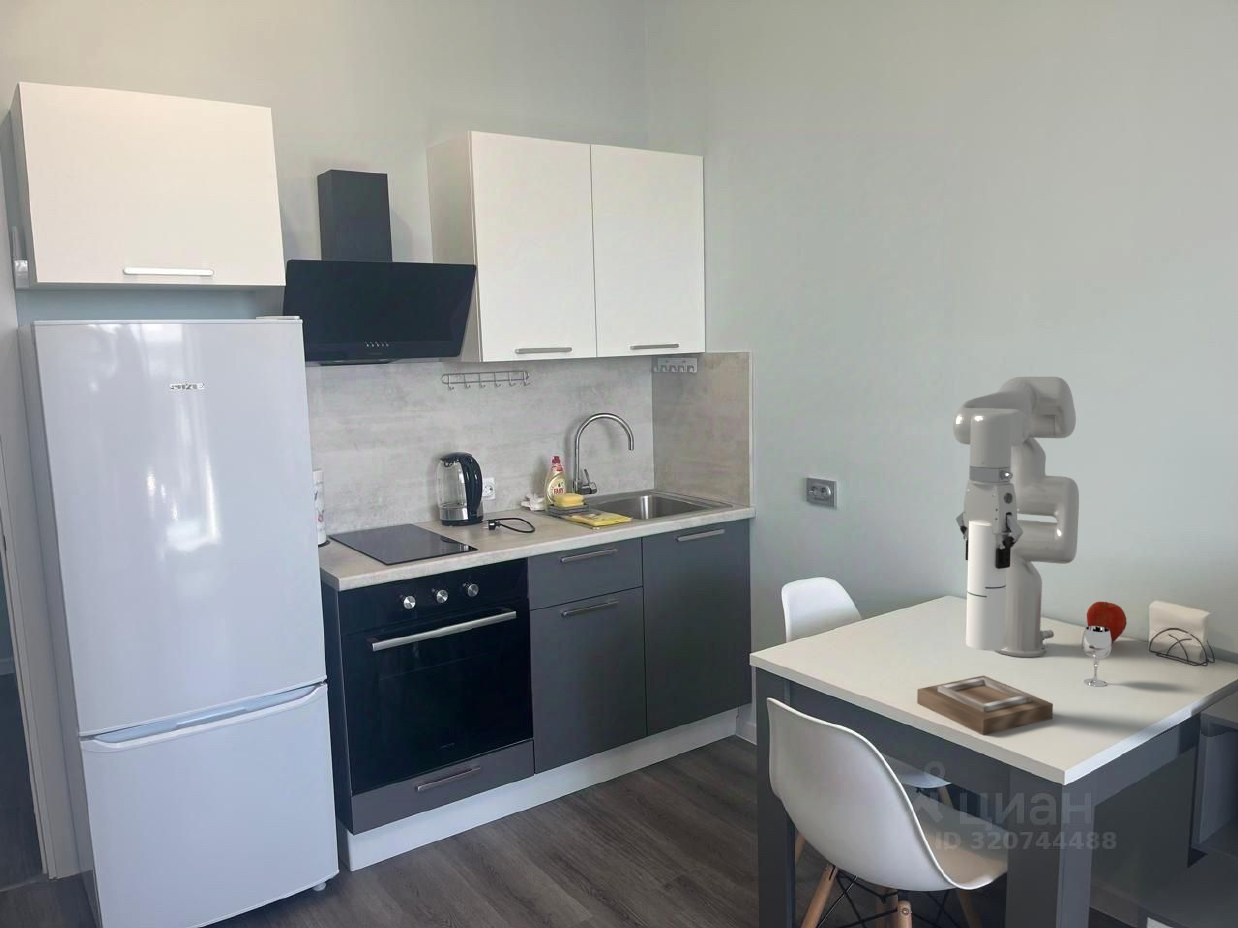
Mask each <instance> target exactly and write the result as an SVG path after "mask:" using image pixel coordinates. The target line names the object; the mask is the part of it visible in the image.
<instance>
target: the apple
mask: <svg viewBox="0 0 1238 928" xmlns="http://www.w3.org/2000/svg"><path fill="white" fill-rule="evenodd" d="M1086 623H1087V627H1088V626H1099V627H1104V628H1107V629H1109V630H1110V635H1111V640H1112V644H1114V643H1115V641H1116V640H1117V639H1119V637H1120V636H1121V635H1122V634H1123V632H1124V631H1125V629H1126V628H1127V627H1126V626H1127V624H1128V623H1127V617H1126V613H1125V610H1123V609H1122V607H1121V606H1120V605H1118V604H1115V603H1113V602H1108V601H1096V602H1094V603H1093V604H1091V605H1090V606H1089V608H1088V610H1087V612H1086Z"/></svg>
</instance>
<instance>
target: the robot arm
mask: <svg viewBox="0 0 1238 928" xmlns="http://www.w3.org/2000/svg"><path fill="white" fill-rule="evenodd" d="M1072 394H1073V393H1072V391H1071V388H1070V386H1069V384H1068V383H1067V381H1066V380H1064V378H1061V377H1059V376H1017V377H1013V378H1012V377H1011V378H1010V379H1007V380H1006V381H1005V382H1004V383H1003V384H1002V385H1001V387H1000V388H999V389H998V390H997V392H994V393H993V392H992V393H989V394H987V395H982V396H978V397H974V398H972V399H969V400H967V401H965V402H964V403H963V404H961V406H960V408H958V410H957V411H956V414H955V415H954V418H953V424H952V431H953V436H954V438H955V439H956V441H958V442H959V443H960V444H962V445H967V446H968V445H969V473H968V474H969V478H968V480H967V484H966V488H965V494H964V501H963V511H962V512H961V514H959V515H958V516H956V519H955V521H956V523H957V524H958V526H959V530H960V532H961V534H962V535H963V537H962V538H963V540H964V541H965V560H966V561H968V543H969V521H972V522H976V523H981V524H985V525H990V526H991V528H992V533H993V534H994V535H996V541H997V543H998V546H999V548H996V568H997V569H1002V568H1007V571H1006V603H1005V636H1004V648H1003V649H1001V650H995V652H997V653H1000V654H1003V655H1005V656H1006V655H1007V656H1012V657H1019V658H1020V657H1021V658H1024V657H1025V658H1035V657H1041V656H1043V655H1045V654H1046V653H1047V651H1048V647H1047V645H1046V644H1044V643H1043V642H1044V640H1046V639H1052V638H1054V636H1055V633H1054V631H1053V630H1052V629H1048V630H1042V629H1041V621H1042V620H1041V618H1042V595H1043V594H1042V592H1043V580H1042V576H1041V574H1040V573H1039V570H1038V569H1037V568H1036V566H1035V565H1034V564H1033V563H1032V562H1034V563H1036V562H1038V563H1039V562H1040V563H1048V564H1057V565H1058V564H1059V565H1060V564H1061V565H1062V564H1063V565H1064V564H1065V565H1066V564H1070V563H1071V562H1073V561H1074V560H1075V558H1076V555H1077V552H1078V551H1077V550H1078V538H1079V537H1078V534H1079V515H1080V511H1079V510H1080V490H1079V487H1078V485H1077V483H1076V481H1075V480H1074V479H1073V478H1071V477H1068V476H1062V475H1057V476H1056V475H1047V474H1046V462H1047V461H1046V459H1047V456H1046V452H1045V450H1044V449H1043V447H1042V446H1041V444H1040V443H1039V442H1038V441H1037V440H1036V439H1066V438H1069V437H1070V436H1071V435H1072V434H1073V433H1074V431H1075V428H1076V423H1077V422H1076V421H1077V416H1076V415H1077V414H1076V410H1075V404H1074V399H1073V395H1072ZM1018 514H1019V515H1030V516H1042V517H1052V518H1054V519H1055V520H1056V522H1053V521H1051V522H1050V521H1039V520H1027V519H1018ZM1005 524H1007V525H1006V532H1002V529H1003V528H1004V526H1005ZM1007 526H1008V527H1007ZM1002 536H1005V540H1004V541H1003V538H1002Z"/></svg>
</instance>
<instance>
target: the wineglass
mask: <svg viewBox="0 0 1238 928" xmlns="http://www.w3.org/2000/svg"><path fill="white" fill-rule="evenodd" d="M1081 646H1082V651H1083V652H1084V654H1085V655H1086V656H1088V657H1090V658H1094V659H1093V662H1092V663H1093V667H1094V670H1093V671H1094V672H1093V673H1094V674H1093V677H1092V678H1085V679H1083V683H1085V684H1086V685H1088V686H1092V687H1105V685H1106V686H1108V685H1107V682H1106V681H1105V680H1102V679H1099V678H1098V666H1099V662H1100V661H1099V660H1098V659H1103V658H1105V657H1108V656H1109V655H1110V654H1111V652H1112V648H1113V643H1112V640H1111V635H1110V630H1109V629H1107V628H1104V627H1099V626H1088V625H1087V626H1085V628H1084V631H1083V634H1082V639H1081Z"/></svg>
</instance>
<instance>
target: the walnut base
mask: <svg viewBox="0 0 1238 928" xmlns="http://www.w3.org/2000/svg"><path fill="white" fill-rule="evenodd" d="M916 695H917V700H916V701H917V702H916V703H917V704H919V705H920V706H923V707H925V709H928V708H929V710H930V711H932V712H934V713H937V714H939V715H941V716H943V717H945V718H947V719H949V720H951V721H953V722H955V723H958V724H959V725H961V726H964V727H965V728H968V729H970V730H972V731H974V732H976V733H978V734H980V735H982V736H984V735H988V734H992V733H997V732H1001V731H1006V730H1010V729H1014V728H1017V727H1022V726H1026V725H1030V724H1035V723H1038V722H1043V721H1047V720H1051V719H1053V716H1054V715H1053V713H1054V712H1053V711H1054V709H1053V706H1054V703H1052V702H1050V701H1047V700H1046V699H1042V698H1040V697H1037V696H1035V695H1033V694H1031V693H1028V692H1025V691H1023V690H1020V689H1017V688H1015V687H1013V686H1010V685H1007V684H1006V683H1003V682H1001V681H998V680H997V679H993V678H991V677H989V676H986V675H981V676H980V675H979V676H975V677H970V678H964V679H959V680H956V681H950V682H945V683H940V684H936V685H930V686H926V687H921V688H917V694H916Z"/></svg>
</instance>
